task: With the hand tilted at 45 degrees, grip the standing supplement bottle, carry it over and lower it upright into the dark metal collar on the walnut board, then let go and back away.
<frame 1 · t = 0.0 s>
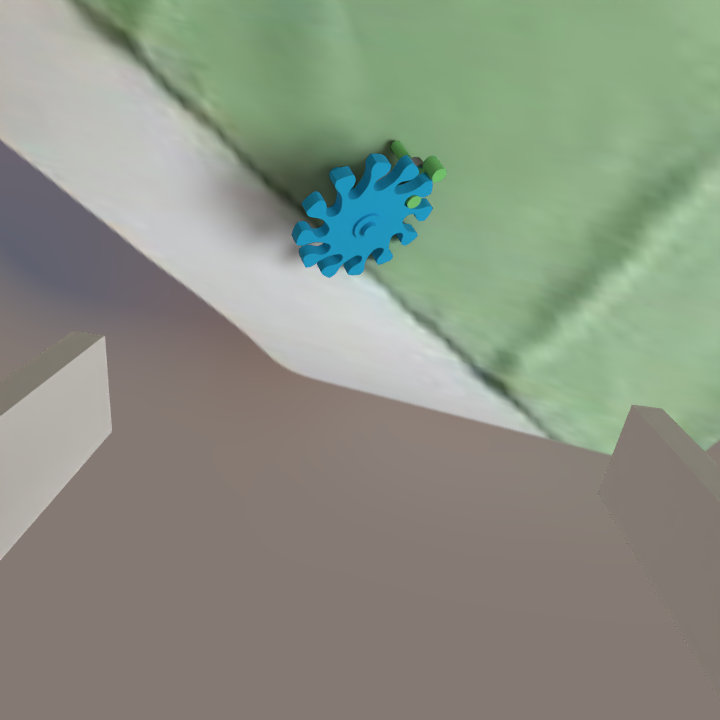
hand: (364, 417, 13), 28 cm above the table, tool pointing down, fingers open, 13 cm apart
gear: (371, 207, 39), on the table
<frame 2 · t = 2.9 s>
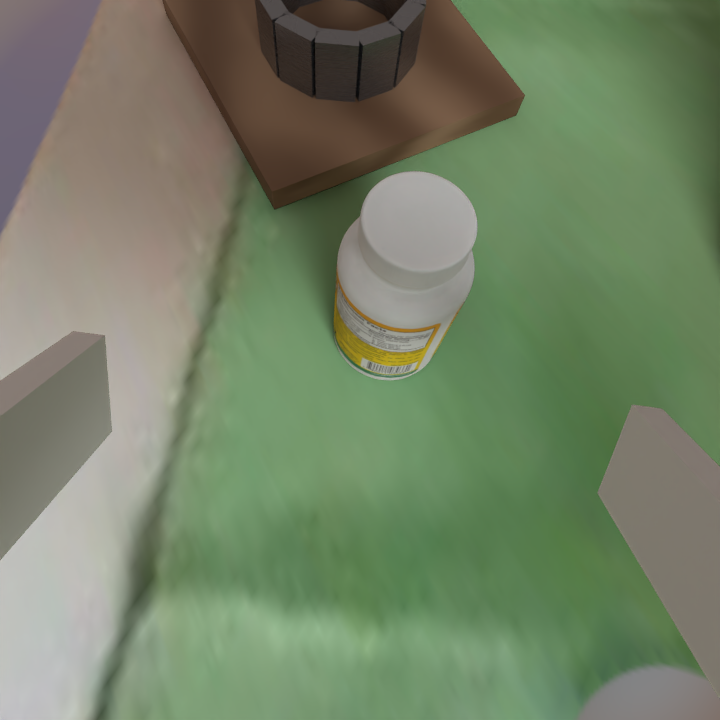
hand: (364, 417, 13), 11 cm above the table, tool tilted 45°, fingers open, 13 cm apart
board: (338, 63, 33), on the table
collar: (340, 13, 29), on the board, point 3 cm above the table
supplement bottle: (385, 333, 27), on the table
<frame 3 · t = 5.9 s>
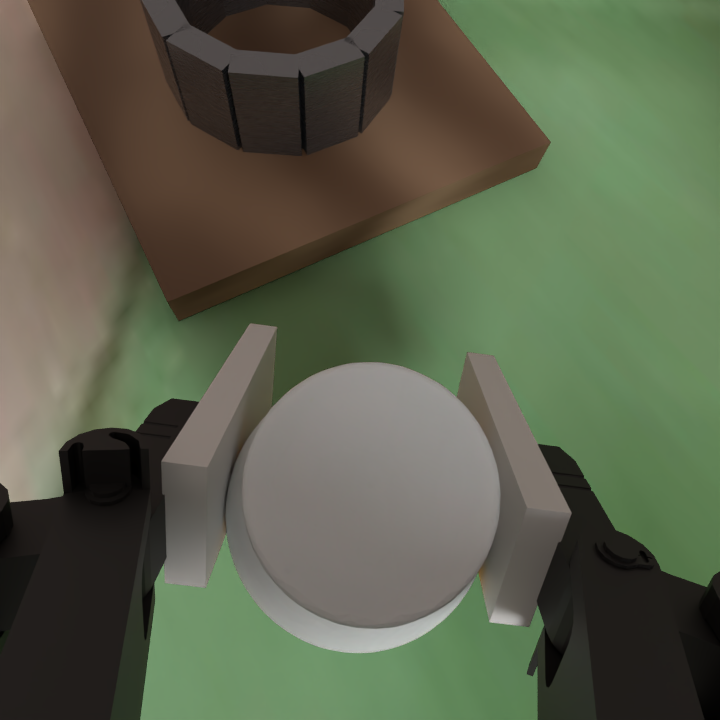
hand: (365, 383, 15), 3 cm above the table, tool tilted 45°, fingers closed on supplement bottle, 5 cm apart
board: (284, 96, 23), on the table
collar: (278, 25, 20), on the board, point 3 cm above the table
supplement bottle: (344, 524, 17), on the table, touching gripper
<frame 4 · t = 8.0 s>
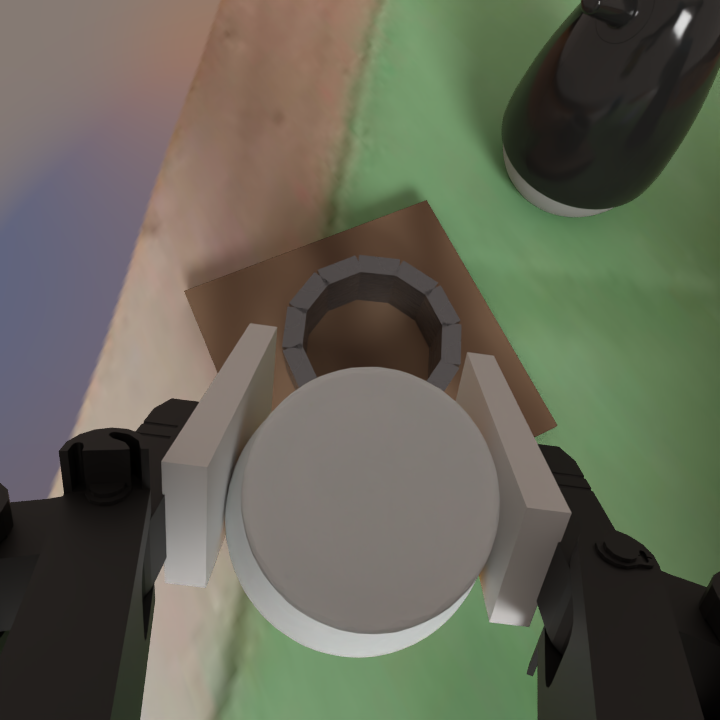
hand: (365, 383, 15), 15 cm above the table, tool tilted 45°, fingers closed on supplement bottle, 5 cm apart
board: (365, 365, 32), on the table
collar: (370, 346, 28), on the board, point 3 cm above the table
supplement bottle: (344, 527, 17), point 12 cm above the table, touching gripper
pump dispenser: (553, 179, 37), on the table
when the fingers open (6 cm above the table, at t = 10.4 s): supplement bottle drops 1 cm, resting on board.
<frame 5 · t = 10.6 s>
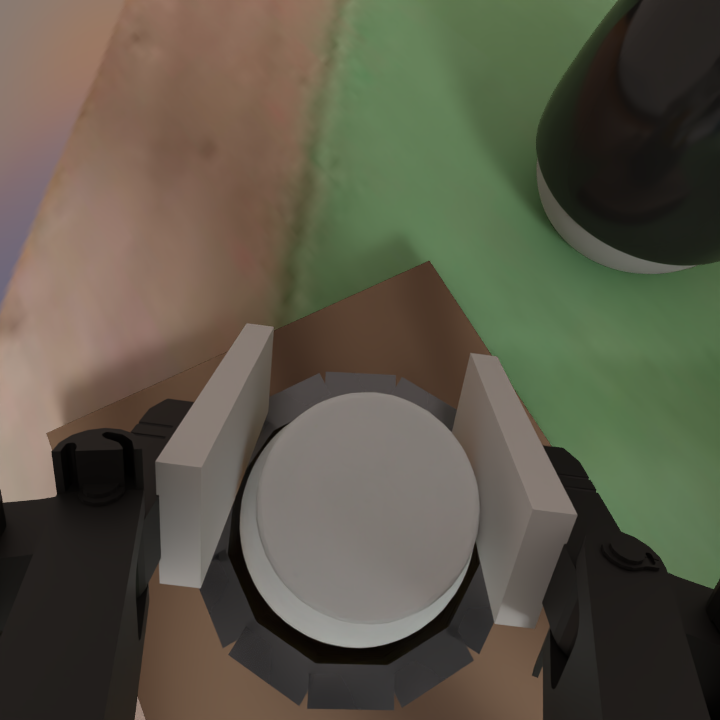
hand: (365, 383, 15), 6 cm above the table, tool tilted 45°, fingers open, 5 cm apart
board: (349, 532, 20), on the table
collar: (353, 527, 17), on the board, point 3 cm above the table
supplement bottle: (347, 531, 18), point 1 cm above the table, touching board, gripper
pump dispenser: (607, 216, 26), on the table
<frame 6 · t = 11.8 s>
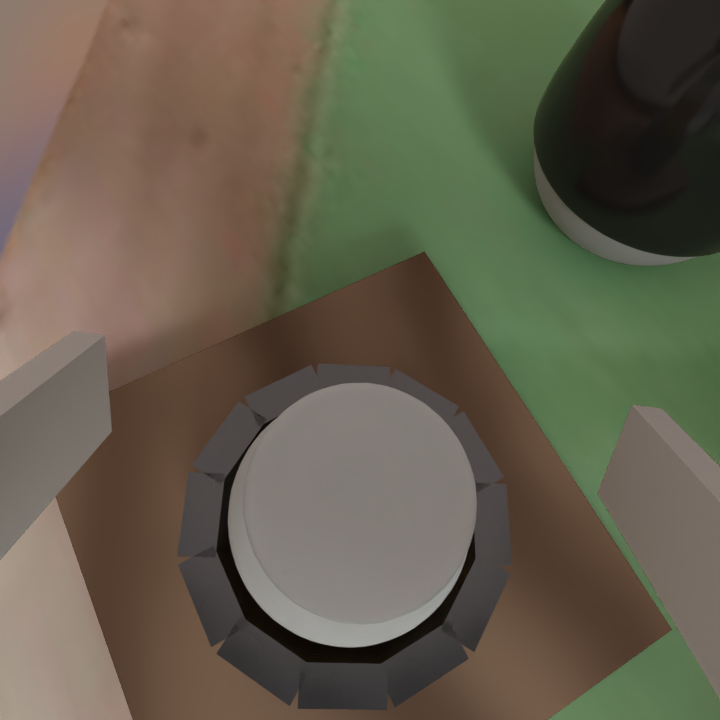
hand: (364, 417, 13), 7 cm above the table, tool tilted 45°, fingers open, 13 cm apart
board: (342, 528, 19), on the table
collar: (346, 522, 16), on the board, point 3 cm above the table
supplement bottle: (340, 527, 18), point 1 cm above the table, touching board
pump dispenser: (605, 208, 25), on the table
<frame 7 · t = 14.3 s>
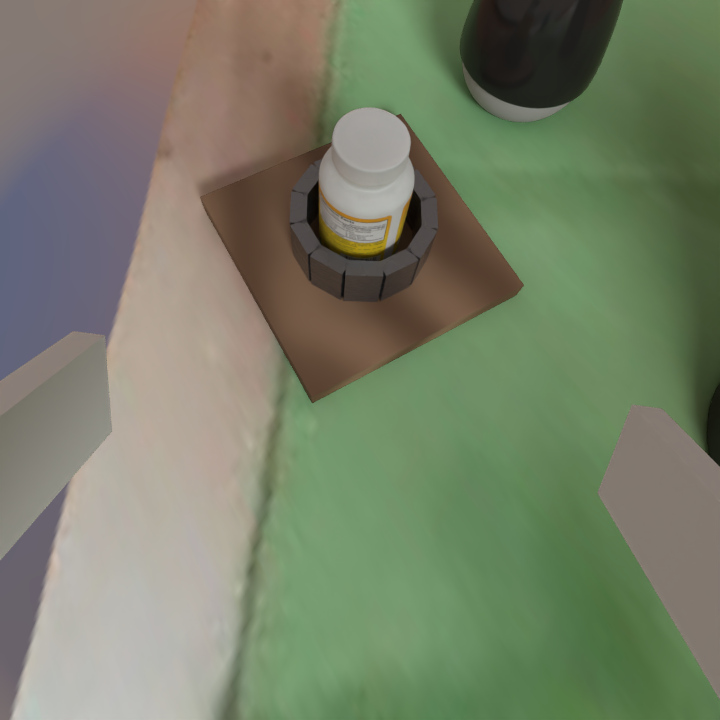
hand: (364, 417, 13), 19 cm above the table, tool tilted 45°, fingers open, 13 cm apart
board: (359, 252, 37), on the table
collar: (362, 226, 34), on the board, point 3 cm above the table
supplement bottle: (358, 242, 36), point 1 cm above the table, touching board
pump dispenser: (508, 95, 43), on the table
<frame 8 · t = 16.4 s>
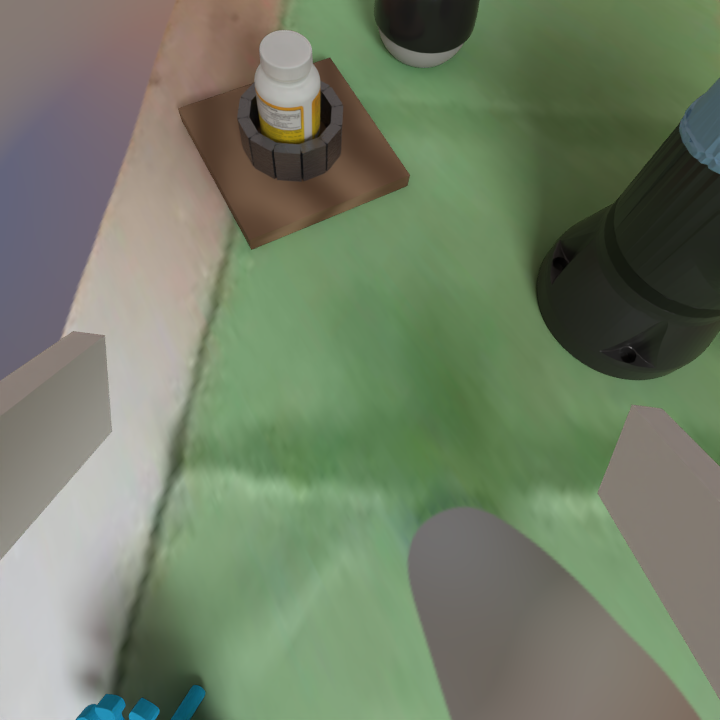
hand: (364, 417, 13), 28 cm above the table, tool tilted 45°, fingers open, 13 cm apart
board: (293, 152, 50), on the table
collar: (291, 127, 47), on the board, point 3 cm above the table
supplement bottle: (291, 143, 49), point 1 cm above the table, touching board
pump dispenser: (417, 50, 57), on the table
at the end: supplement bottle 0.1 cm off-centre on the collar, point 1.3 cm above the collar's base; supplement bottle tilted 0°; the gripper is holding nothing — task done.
